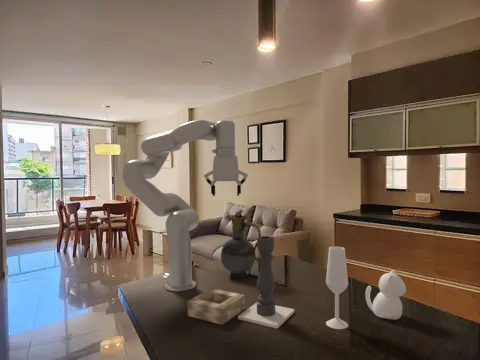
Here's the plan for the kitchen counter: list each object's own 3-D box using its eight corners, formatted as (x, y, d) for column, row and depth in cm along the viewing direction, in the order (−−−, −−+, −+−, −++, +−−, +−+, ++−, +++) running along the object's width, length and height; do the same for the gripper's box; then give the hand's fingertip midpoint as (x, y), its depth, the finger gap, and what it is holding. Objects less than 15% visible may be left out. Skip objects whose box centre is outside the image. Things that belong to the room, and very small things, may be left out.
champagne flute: (323, 319, 113) (323, 245, 112) (344, 319, 112) (344, 245, 112) (328, 329, 106) (328, 250, 105) (350, 329, 106) (350, 250, 105)
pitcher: (229, 270, 168) (228, 208, 167) (265, 275, 160) (265, 210, 159) (217, 276, 159) (216, 210, 158) (255, 282, 150) (255, 212, 149)
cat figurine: (403, 325, 108) (404, 277, 107) (361, 316, 115) (362, 271, 114) (407, 315, 116) (408, 270, 115) (367, 306, 122) (368, 264, 122)
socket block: (187, 315, 117) (187, 300, 117) (211, 301, 129) (211, 288, 129) (222, 324, 110) (222, 309, 109) (244, 309, 122) (244, 294, 121)
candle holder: (274, 316, 113) (273, 240, 112) (255, 315, 114) (254, 239, 113) (276, 309, 119) (275, 236, 118) (258, 308, 120) (257, 235, 119)
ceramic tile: (237, 319, 114) (237, 316, 114) (257, 304, 126) (257, 301, 126) (277, 328, 107) (277, 325, 106) (294, 312, 119) (294, 309, 119)
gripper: (202, 152, 134) (203, 196, 135) (247, 151, 134) (248, 196, 134) (204, 153, 142) (205, 195, 142) (247, 152, 141) (247, 194, 142)
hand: (226, 195), depth 138 cm, fingers open, 9 cm apart
